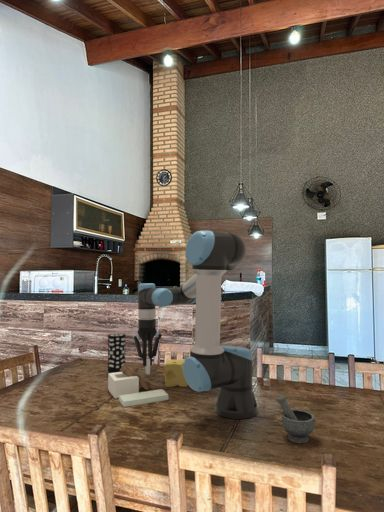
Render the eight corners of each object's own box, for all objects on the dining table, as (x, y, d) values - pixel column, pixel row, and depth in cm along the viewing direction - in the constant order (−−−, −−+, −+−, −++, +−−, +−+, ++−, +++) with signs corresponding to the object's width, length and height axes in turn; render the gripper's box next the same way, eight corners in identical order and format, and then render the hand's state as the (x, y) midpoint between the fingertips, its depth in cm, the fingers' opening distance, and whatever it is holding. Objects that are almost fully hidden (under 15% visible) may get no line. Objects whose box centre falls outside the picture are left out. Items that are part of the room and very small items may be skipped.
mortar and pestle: (317, 435, 113) (317, 396, 113) (312, 448, 104) (311, 406, 105) (281, 428, 118) (281, 390, 119) (273, 440, 110) (272, 399, 110)
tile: (143, 387, 161) (148, 381, 161) (147, 390, 156) (151, 384, 157) (119, 369, 156) (123, 363, 157) (122, 372, 152) (126, 366, 153)
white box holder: (130, 386, 162) (130, 370, 162) (138, 394, 151) (138, 377, 151) (108, 389, 157) (108, 373, 158) (114, 398, 147) (114, 380, 147)
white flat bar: (168, 399, 145) (168, 394, 145) (123, 407, 137) (123, 401, 137) (161, 394, 152) (161, 389, 152) (119, 400, 144) (119, 395, 144)
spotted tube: (107, 374, 180) (107, 334, 181) (124, 373, 183) (124, 333, 184) (108, 379, 172) (108, 336, 173) (126, 377, 175) (126, 335, 176)
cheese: (188, 387, 161) (187, 364, 161) (163, 387, 161) (163, 364, 161) (188, 380, 171) (188, 358, 171) (165, 380, 171) (165, 358, 172)
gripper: (158, 317, 166) (158, 369, 164) (130, 318, 160) (130, 373, 159) (164, 318, 159) (164, 373, 158) (134, 320, 154) (135, 377, 152)
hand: (147, 373), depth 158 cm, fingers closed
